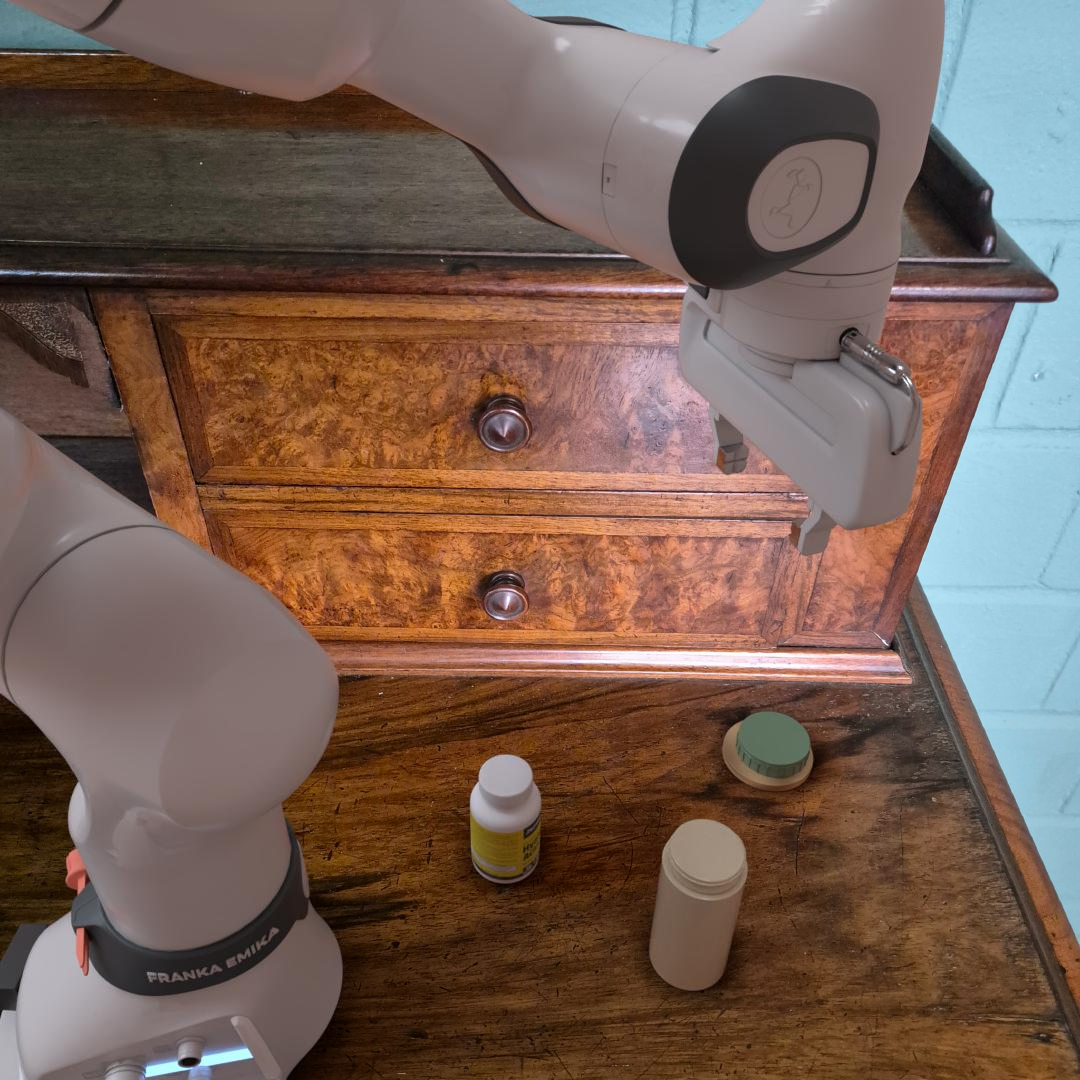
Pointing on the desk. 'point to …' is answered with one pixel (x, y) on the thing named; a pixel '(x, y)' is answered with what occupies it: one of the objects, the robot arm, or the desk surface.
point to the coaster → (752, 776)
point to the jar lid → (773, 744)
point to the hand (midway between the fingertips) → (765, 506)
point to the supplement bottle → (505, 820)
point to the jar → (697, 904)
